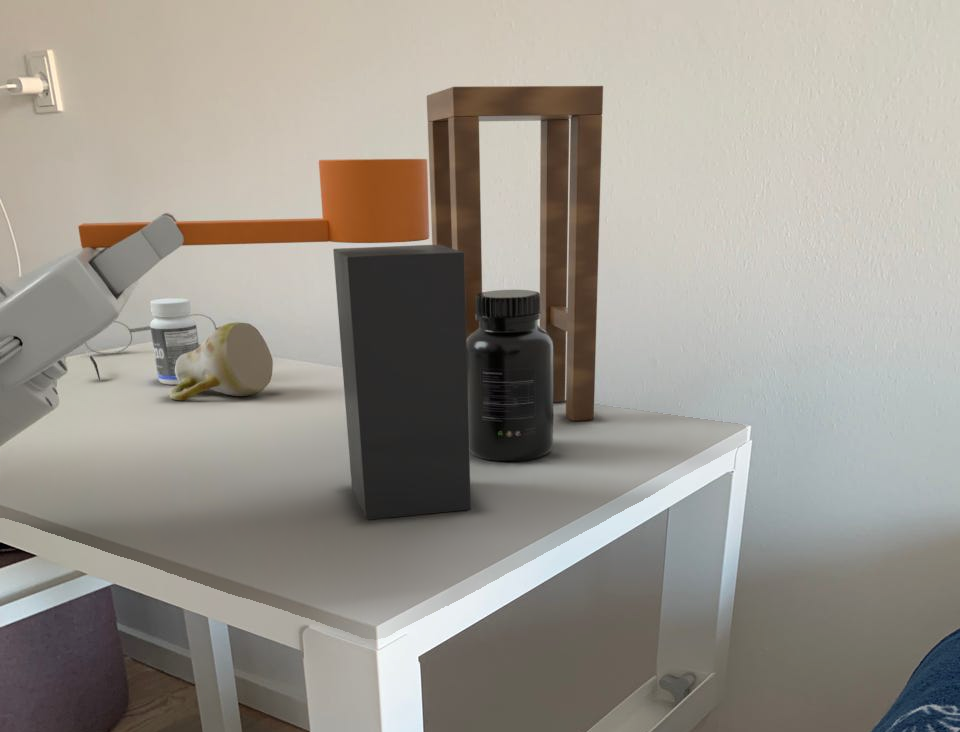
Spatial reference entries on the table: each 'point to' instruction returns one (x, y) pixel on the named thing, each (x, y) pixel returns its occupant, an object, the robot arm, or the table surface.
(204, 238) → the measuring cup
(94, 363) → the eyeglasses
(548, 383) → the supplement bottle
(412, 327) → the charcoal tower block
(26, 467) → the table surface
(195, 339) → the pill bottle
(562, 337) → the tall stand
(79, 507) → the table surface
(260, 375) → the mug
